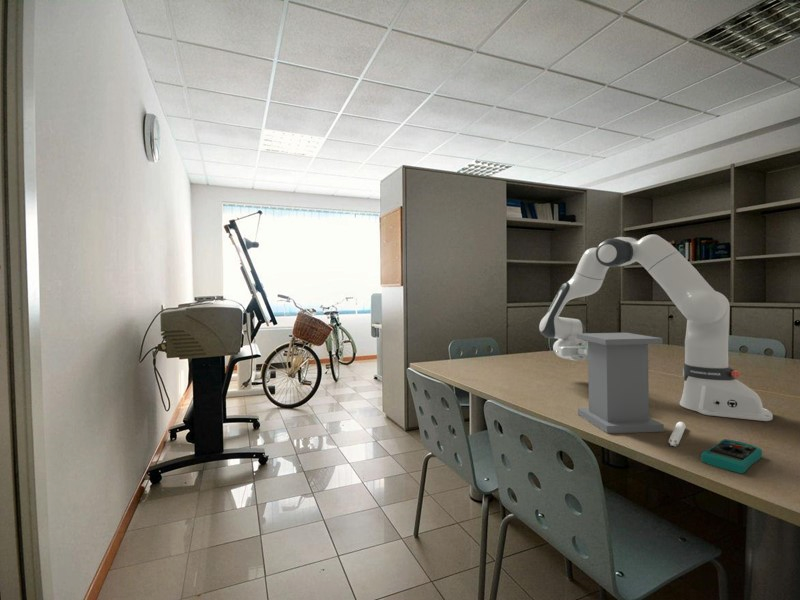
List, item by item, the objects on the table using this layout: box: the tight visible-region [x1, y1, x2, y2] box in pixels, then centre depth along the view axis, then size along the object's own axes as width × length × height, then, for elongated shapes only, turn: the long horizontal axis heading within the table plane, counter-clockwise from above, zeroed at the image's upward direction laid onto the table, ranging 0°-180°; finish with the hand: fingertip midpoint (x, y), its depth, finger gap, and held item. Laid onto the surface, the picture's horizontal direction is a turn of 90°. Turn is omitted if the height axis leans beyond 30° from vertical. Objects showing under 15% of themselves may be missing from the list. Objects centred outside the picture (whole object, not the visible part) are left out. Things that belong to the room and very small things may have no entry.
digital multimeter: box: [700, 438, 763, 475], centre depth 85 cm, size 7×15×3 cm, turn 123°
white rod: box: [668, 421, 687, 447], centre depth 98 cm, size 18×2×2 cm, turn 137°
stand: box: [577, 332, 665, 434], centre depth 110 cm, size 16×16×26 cm
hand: (594, 351), depth 140 cm, fingers closed on bar, 3 cm apart
